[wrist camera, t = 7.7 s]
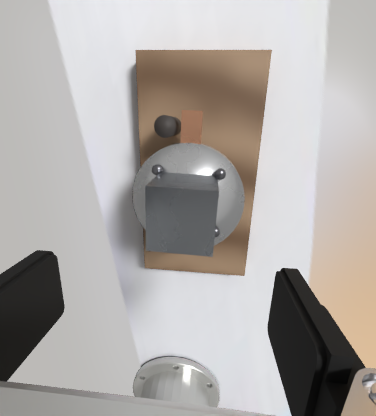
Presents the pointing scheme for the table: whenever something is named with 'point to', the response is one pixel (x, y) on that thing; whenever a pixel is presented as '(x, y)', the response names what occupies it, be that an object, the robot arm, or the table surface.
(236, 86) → the base board
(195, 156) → the flange plate
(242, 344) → the table surface
